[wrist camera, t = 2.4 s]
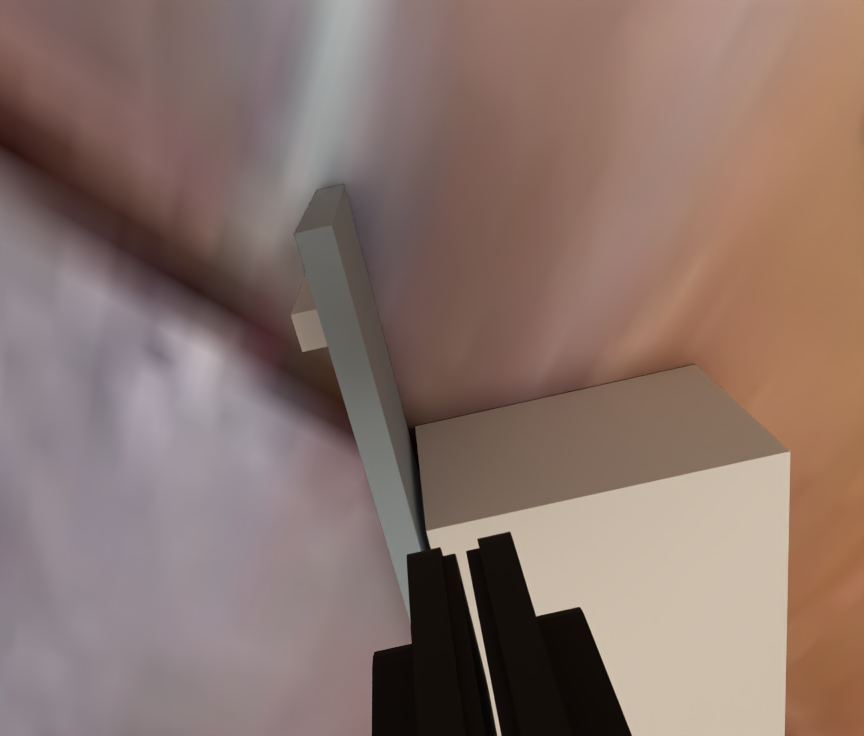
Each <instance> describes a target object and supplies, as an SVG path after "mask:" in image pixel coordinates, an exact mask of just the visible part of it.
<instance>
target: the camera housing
mask: <svg viewBox="0 0 864 736" xmlns="http://www.w3.org/2000/svg"><path fill="white" fill-rule="evenodd" d="M415 430H416V440H417V449H418V459H419V468H420V478H421V487H422V496H423V506H424V515H425V525H426V532H427V536H428V540H429V544H430V547H431V549H434V548H438V547H440V548H441V550H442V554H443V556H446V555H450V554H456V557H457V561H458V565H459V569H460V573H461V577H462V582H463V586H464V590H465V594H466V598H467V602H468V606H469V610H470V614H471V618H472V622H473V626H474V630H475V635H476V639H477V643H478V647H479V651H480V655H481V659H482V663H483V667H484V671H485V675H486V680H487V684H488V689H489V694H490V699H491V705H492V710H493V715H494V721H495V726H496V731H497V736H501V731H500V726H499V720H498V715H497V710H496V705H495V700H494V694H493V689H492V684H491V679H490V674H489V668H488V663H487V658H486V653H485V648H484V642H483V637H482V632H481V627H480V622H479V616H478V611H477V606H476V601H475V596H474V590H473V585H472V580H471V575H470V570H469V565H468V559H467V554H466V551H468V550H473V549H477V548H479V545H478V540H477V539H479V538H483V537H488V536H492V535H497V534H501V533H506V532H511V535H512V538H513V541H514V545H515V548H516V551H517V554H518V558H519V561H520V564H521V568H522V571H523V574H524V578H525V581H526V584H527V588H528V591H529V594H530V598H531V601H532V604H533V608H534V611H535V614H536V616H540V615H544V614H549V613H554V612H558V611H563V610H567V609H572V608H576V607H580V608H581V609H582V611H583V613H584V615H585V618H586V620H587V622H588V625H589V628H590V630H591V633H592V635H593V638H594V640H595V643H596V645H597V648H598V650H599V653H600V655H601V658H602V661H603V663H604V666H605V668H606V671H607V673H608V676H609V678H610V681H611V683H612V686H613V688H614V691H615V694H616V696H617V699H618V701H619V704H620V706H621V709H622V711H623V714H624V716H625V719H626V721H627V724H628V727H629V729H630V732H631V734H632V736H785V687H786V638H787V588H788V539H789V489H790V451H789V450H788V449H787V448H786V447H785V446H784V445H783V444H782V443H781V442H780V441H778V440H777V439H776V438H775V437H774V436H773V435H772V434H771V433H770V432H769V431H768V430H766V429H765V428H764V427H763V426H762V425H761V424H760V423H759V422H758V421H757V420H756V419H754V418H753V417H752V416H751V415H750V414H749V413H748V412H747V411H746V410H745V409H744V408H742V407H741V406H740V405H739V404H738V403H737V402H736V401H735V400H734V399H733V398H732V397H730V396H729V395H728V394H727V393H726V392H725V391H724V390H723V389H722V388H721V387H720V386H718V385H717V384H716V383H715V382H714V381H713V380H712V379H711V378H710V377H709V376H708V375H706V374H705V373H704V372H703V371H702V370H701V369H700V368H699V367H698V366H697V365H696V364H694V365H690V366H685V367H681V368H676V369H672V370H667V371H663V372H658V373H654V374H649V375H645V376H640V377H636V378H631V379H627V380H622V381H618V382H613V383H609V384H604V385H600V386H595V387H591V388H586V389H582V390H577V391H573V392H568V393H564V394H559V395H555V396H550V397H546V398H541V399H536V400H532V401H527V402H523V403H518V404H514V405H509V406H505V407H500V408H496V409H491V410H487V411H482V412H478V413H473V414H469V415H464V416H460V417H455V418H451V419H446V420H442V421H437V422H433V423H428V424H424V425H419V426H415Z"/></svg>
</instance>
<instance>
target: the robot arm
mask: <svg viewBox="0 0 864 736" xmlns="http://www.w3.org/2000/svg"><path fill="white" fill-rule="evenodd" d="M477 540H478V545H479V548H477V549H473V550H468V551H466V554H467V559H468V565H469V570H470V575H471V580H472V585H473V590H474V596H475V601H476V606H477V611H478V616H479V622H480V627H481V632H482V637H483V642H484V648H485V653H486V658H487V663H488V668H489V674H490V679H491V684H492V689H493V694H494V700H495V705H496V710H497V715H498V720H499V726H500V731H501V736H632V734H631V732H630V729H629V727H628V724H627V721H626V719H625V716H624V714H623V711H622V709H621V706H620V704H619V701H618V699H617V696H616V694H615V691H614V688H613V686H612V683H611V681H610V678H609V676H608V673H607V671H606V668H605V666H604V663H603V661H602V658H601V655H600V653H599V650H598V648H597V645H596V643H595V640H594V638H593V635H592V633H591V630H590V628H589V625H588V622H587V620H586V618H585V615H584V613H583V611H582V609H581V608H580V607H576V608H572V609H567V610H563V611H558V612H554V613H549V614H544V615H540V616H536V614H535V611H534V608H533V604H532V601H531V598H530V594H529V591H528V588H527V584H526V581H525V578H524V574H523V571H522V568H521V564H520V561H519V558H518V554H517V551H516V548H515V545H514V541H513V538H512V535H511V532H506V533H501V534H497V535H492V536H488V537H483V538H479V539H477ZM407 574H408V590H409V605H410V621H411V637H412V644H408V645H404V646H399V647H395V648H390V649H386V650H381V651H377V652H374V656H373V666H372V736H497V731H496V726H495V721H494V715H493V710H492V705H491V699H490V694H489V689H488V684H487V680H486V675H485V671H484V667H483V663H482V659H481V655H480V651H479V647H478V643H477V639H476V635H475V630H474V626H473V622H472V618H471V614H470V610H469V606H468V602H467V598H466V594H465V590H464V586H463V582H462V577H461V573H460V569H459V565H458V561H457V557H456V554H450V555H446V556H443V554H442V550H441V548H440V547H438V548H434V549H429V550H424V551H420V552H415V553H411V554H407Z"/></svg>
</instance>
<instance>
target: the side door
mask: <svg viewBox="0 0 864 736" xmlns="http://www.w3.org/2000/svg"><path fill="white" fill-rule="evenodd" d="M294 236H295V239H296V242H297V246H298V249H299V252H300V256H301V259H302V262H303V266H304V269H305V272H306V274H305V276H304V279H303V282H302V285H301V288H300V290H299V293H298V296H297V299H296V301H295V304H294V307H293V310H292V313H291V318H292V321H293V324H294V327H295V330H296V334H297V337H298V340H299V343H300V346H301V349H302V352H305V351H309V350H314V349H318V348H323V347H327V346H328V349H329V353H330V356H331V359H332V363H333V366H334V369H335V373H336V376H337V379H338V383H339V386H340V389H341V393H342V396H343V399H344V403H345V406H346V409H347V413H348V416H349V419H350V423H351V426H352V429H353V433H354V436H355V439H356V443H357V446H358V449H359V453H360V456H361V460H362V463H363V466H364V470H365V473H366V476H367V480H368V483H369V486H370V490H371V493H372V496H373V500H374V503H375V506H376V510H377V513H378V516H379V520H380V523H381V526H382V530H383V533H384V536H385V540H386V543H387V546H388V550H389V553H390V556H391V560H392V563H393V566H394V570H395V573H396V576H397V580H398V583H399V586H400V590H401V593H402V597H403V600H404V603H405V607H406V610H407V613H408V617H409V620H410V605H409V590H408V574H407V554H411V553H415V552H420V551H424V550H429V549H431V547H430V544H429V540H428V536H427V532H426V525H425V515H424V506H423V496H422V487H421V478H420V474H419V470H418V466H417V463H416V459H415V455H414V451H413V447H412V443H411V439H410V436H409V432H408V428H407V424H406V420H405V416H404V412H403V409H402V405H401V401H400V397H399V393H398V389H397V385H396V381H395V378H394V374H393V370H392V366H391V362H390V358H389V354H388V351H387V347H386V343H385V339H384V335H383V331H382V327H381V324H380V320H379V316H378V312H377V308H376V304H375V300H374V296H373V293H372V289H371V285H370V281H369V277H368V273H367V269H366V266H365V262H364V258H363V254H362V250H361V246H360V242H359V239H358V235H357V231H356V227H355V223H354V219H353V215H352V212H351V208H350V204H349V200H348V196H347V192H346V188H345V184H341V185H336V186H332V187H328V188H323V189H319V190H316V192H315V194H314V196H313V198H312V200H311V202H310V204H309V206H308V208H307V210H306V211H305V213H304V215H303V217H302V219H301V221H300V223H299V225H298V227H297V229H296V231H295V233H294ZM410 623H411V621H410Z"/></svg>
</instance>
